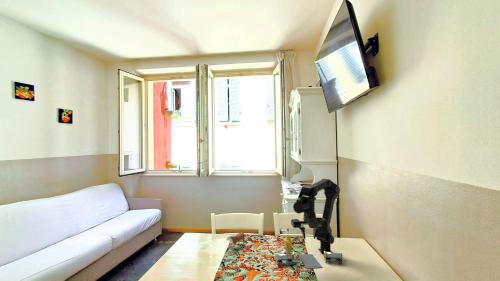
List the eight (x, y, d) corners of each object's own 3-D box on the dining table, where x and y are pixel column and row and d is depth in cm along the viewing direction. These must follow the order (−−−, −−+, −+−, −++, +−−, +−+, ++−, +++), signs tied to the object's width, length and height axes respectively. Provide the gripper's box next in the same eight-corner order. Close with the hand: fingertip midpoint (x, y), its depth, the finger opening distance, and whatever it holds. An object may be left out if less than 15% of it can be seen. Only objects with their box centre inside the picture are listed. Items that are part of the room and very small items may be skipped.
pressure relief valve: (295, 252, 134) (294, 235, 134) (283, 261, 125) (282, 243, 125) (287, 250, 138) (286, 233, 137) (275, 258, 129) (274, 240, 129)
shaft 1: (277, 265, 121) (277, 255, 121) (275, 261, 125) (275, 251, 125) (296, 264, 122) (296, 254, 122) (293, 260, 126) (293, 250, 126)
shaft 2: (324, 262, 124) (324, 253, 124) (323, 258, 128) (323, 249, 128) (342, 264, 121) (342, 254, 121) (341, 260, 126) (341, 251, 126)
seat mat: (298, 255, 131) (298, 254, 131) (312, 254, 132) (312, 254, 132) (306, 268, 117) (306, 268, 117) (322, 267, 118) (322, 267, 118)
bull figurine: (225, 248, 141) (225, 234, 141) (242, 242, 150) (242, 229, 150) (229, 251, 138) (229, 236, 138) (246, 244, 147) (246, 231, 147)
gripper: (296, 214, 116) (296, 246, 116) (332, 213, 118) (333, 244, 118) (290, 208, 127) (290, 237, 127) (323, 207, 129) (324, 235, 129)
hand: (309, 238), depth 125 cm, fingers open, 5 cm apart
